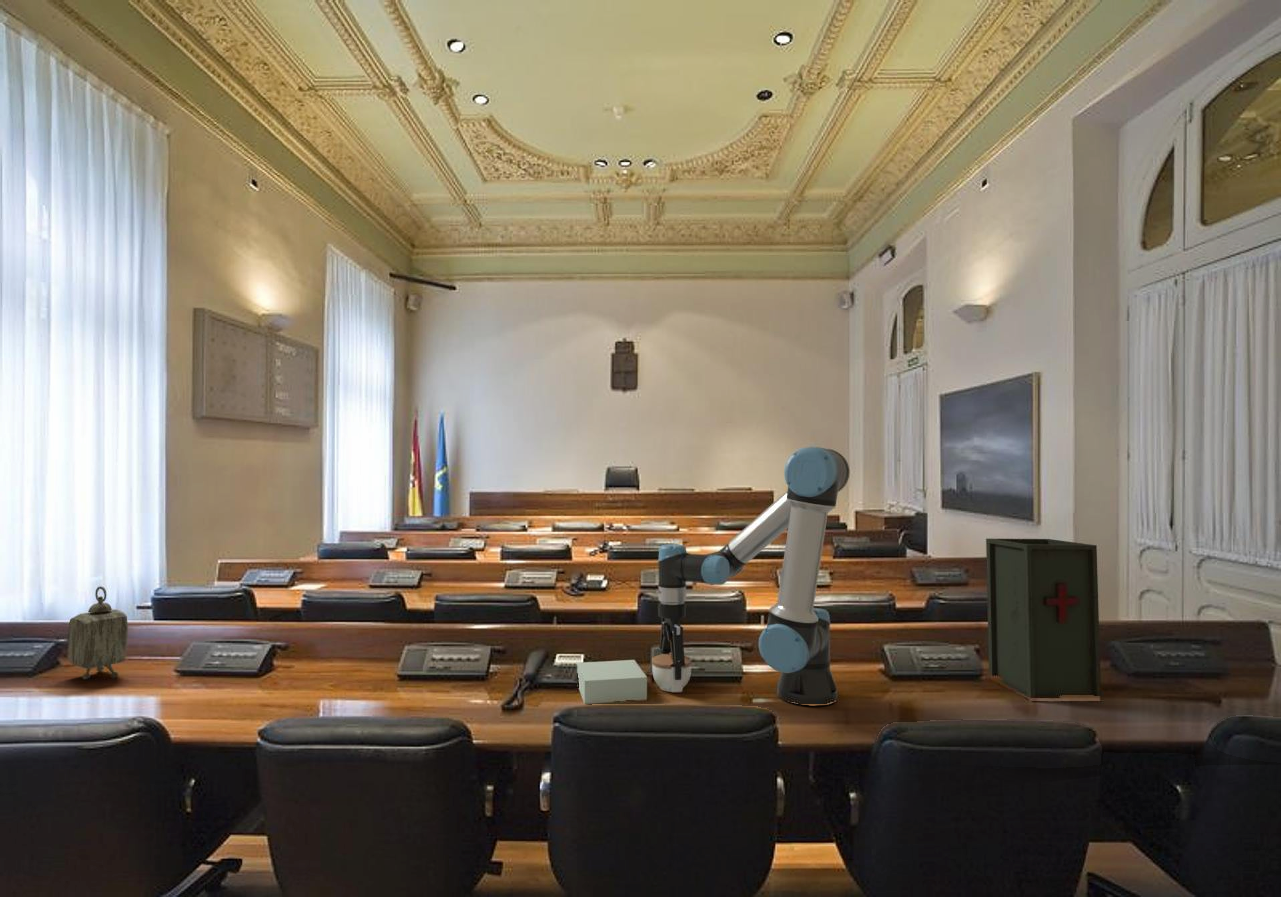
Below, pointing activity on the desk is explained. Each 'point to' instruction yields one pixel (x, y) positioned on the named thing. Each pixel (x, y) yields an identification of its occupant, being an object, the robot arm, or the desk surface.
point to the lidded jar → (668, 671)
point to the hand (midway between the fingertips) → (671, 684)
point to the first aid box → (1043, 616)
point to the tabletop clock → (98, 637)
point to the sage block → (611, 681)
